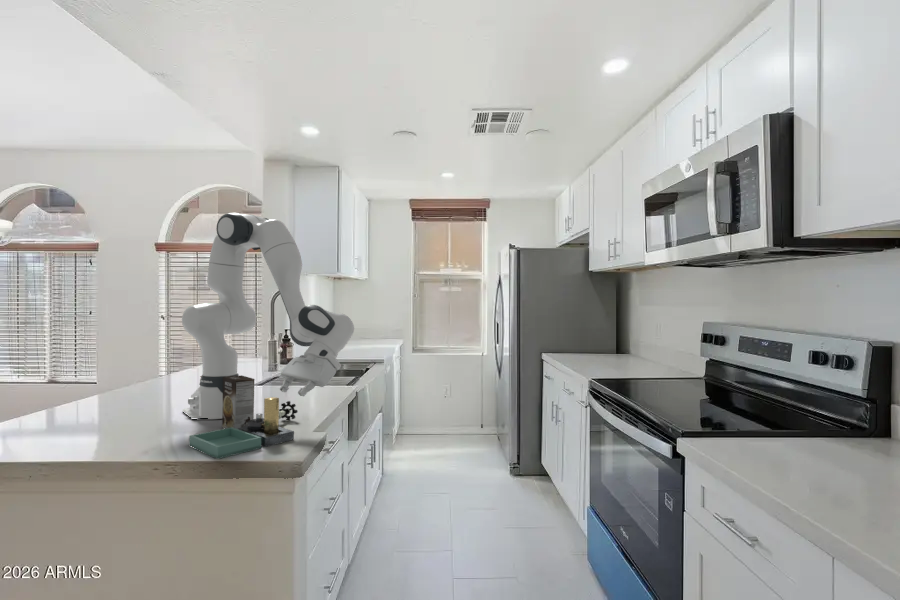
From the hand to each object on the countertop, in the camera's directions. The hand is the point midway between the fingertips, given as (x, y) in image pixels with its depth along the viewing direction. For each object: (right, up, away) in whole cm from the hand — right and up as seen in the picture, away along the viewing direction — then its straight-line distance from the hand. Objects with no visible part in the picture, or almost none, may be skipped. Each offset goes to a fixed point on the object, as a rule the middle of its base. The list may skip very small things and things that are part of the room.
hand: (291, 392), depth 147 cm
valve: (-8, -13, +13) cm, 20 cm away
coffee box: (-19, -13, +7) cm, 24 cm away
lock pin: (-4, -13, -5) cm, 14 cm away
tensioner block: (-6, -13, -3) cm, 15 cm away
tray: (-14, -13, -12) cm, 23 cm away
